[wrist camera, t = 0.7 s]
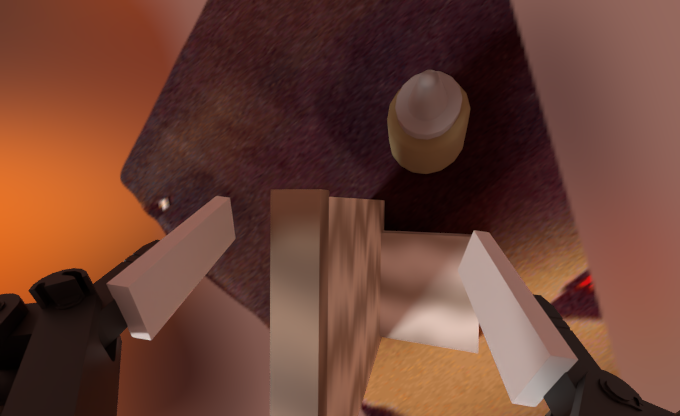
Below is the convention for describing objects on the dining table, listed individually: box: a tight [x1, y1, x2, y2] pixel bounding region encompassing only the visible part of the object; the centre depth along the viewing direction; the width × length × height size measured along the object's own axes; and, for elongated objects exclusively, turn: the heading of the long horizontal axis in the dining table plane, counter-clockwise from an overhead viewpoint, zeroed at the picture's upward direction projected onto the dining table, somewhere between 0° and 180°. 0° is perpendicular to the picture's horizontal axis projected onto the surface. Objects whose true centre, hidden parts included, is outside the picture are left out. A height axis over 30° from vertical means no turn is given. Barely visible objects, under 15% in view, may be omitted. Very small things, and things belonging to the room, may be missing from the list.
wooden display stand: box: [270, 189, 479, 416], centre depth 22 cm, size 19×13×23 cm
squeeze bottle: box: [387, 70, 470, 174], centre depth 24 cm, size 8×8×18 cm
